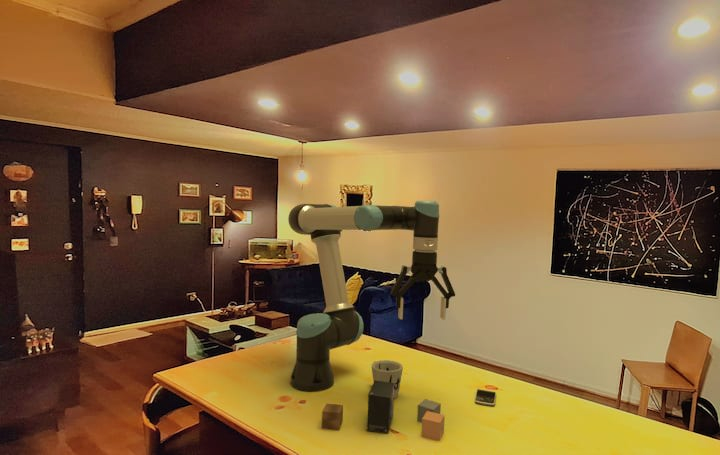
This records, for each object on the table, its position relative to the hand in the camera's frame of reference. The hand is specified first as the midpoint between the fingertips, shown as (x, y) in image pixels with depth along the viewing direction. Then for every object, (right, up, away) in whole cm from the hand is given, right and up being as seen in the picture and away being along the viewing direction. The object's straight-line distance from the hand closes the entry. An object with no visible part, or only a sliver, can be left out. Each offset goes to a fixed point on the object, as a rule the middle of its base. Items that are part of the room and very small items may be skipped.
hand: (421, 318), depth 134 cm
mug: (-12, -27, +10) cm, 31 cm away
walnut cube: (-27, -28, -12) cm, 41 cm away
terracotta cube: (+1, -29, -16) cm, 33 cm away
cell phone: (+22, -29, +8) cm, 37 cm away
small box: (-13, -28, -11) cm, 33 cm away
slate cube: (+1, -28, -8) cm, 29 cm away
